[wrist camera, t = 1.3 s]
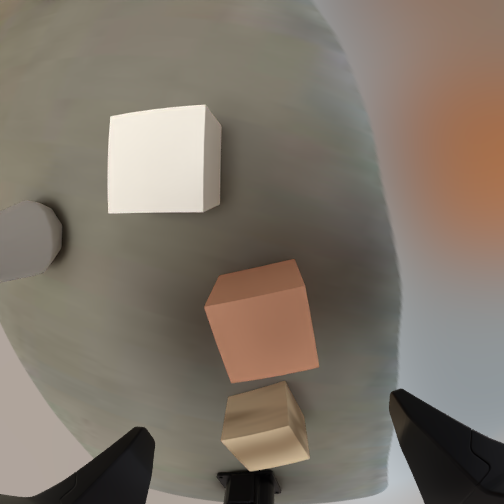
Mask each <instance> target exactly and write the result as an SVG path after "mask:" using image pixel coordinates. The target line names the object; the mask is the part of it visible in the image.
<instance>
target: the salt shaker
mask: <svg viewBox="0 0 504 504" xmlns="http://www.w3.org/2000/svg"><path fill="white" fill-rule="evenodd" d="M61 248H62V224H61V223H60V221H59V219H58V218H57V216H56V215H55V213H54V211H53V210H52V209H51V208H49V207H47V206H45V205H43V204H41V203H39V202H34V201H30V200H24V201H21V202H19V203H17V204H15V205H13V206H10V207H8V208H6V209H4V210H2V211H0V283H1V282H6V281H11V280H16V279H21V278H26V277H31V276H35V275H38V274H41V273H43V272H44V271H45V270H46V269H47V268H48V267H49V265H50V264H51V262H52V261H53V260H54V258H55V257H56V255H57V254H58V252H59V251H60V249H61Z"/></svg>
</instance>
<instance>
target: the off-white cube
mask: <svg viewBox="0 0 504 504" xmlns="http://www.w3.org/2000/svg"><path fill="white" fill-rule="evenodd" d="M221 129H222V126H221V124H220V123H219V122H218V120H217V119H216V118H215V116H214V115H213V114H212V112H211V111H210V110H209V108H208V107H207V106H206V105H193V106H181V107H171V108H162V109H154V110H146V111H140V112H133V113H127V114H121V115H116V116H111V117H110V130H109V147H108V213H150V212H205V211H207V210H209V209H211V208H214V207H216V206H218V205H220V168H221Z"/></svg>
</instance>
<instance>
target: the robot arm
mask: <svg viewBox="0 0 504 504" xmlns="http://www.w3.org/2000/svg"><path fill="white" fill-rule="evenodd" d="M389 412H390V415H391V418H392V421H393V424H394V428H395V431H396V434H397V438H398V441H399V444H400V447H401V449H402V452H403V454H404V456H405V458H406V460H407V463H408V465H409V467H410V469H411V472H412V474H413V476H414V479H415V481H416V483H417V486H418V488H419V491H420V493H421V495H422V498H423V500H424V503H425V504H504V444H503V443H501V442H498V441H496V440H493V439H491V438H488V437H487V436H485V435H483V434H481V433H479V432H477V431H475V430H471V428H469V427H468V426H466V425H464V424H462V423H460V422H459V421H457V420H455V419H453V418H451V417H450V416H448V415H446V414H444V413H443V412H441V411H439V410H438V409H436V408H434V407H432V406H431V405H429V404H427V403H425V402H424V401H422V400H420V399H419V398H417V397H415V396H414V395H412V394H410V393H409V392H407V391H405V390H404V389H398V390H395V391H392V392H391V393H390V401H389ZM154 450H155V441H154V439H153V437H152V436H151V435H150V433H149V432H148V430H147V429H146V428H145V427H134V428H133V429H132V430H130V431H129V432H128V433H127V434H125V435H124V436H123V437H122V438H120V439H119V440H118V441H116V442H115V443H114V444H113V445H111V446H110V447H109V448H107V449H106V450H105V451H104V452H102V453H101V454H100V455H98V456H97V457H96V458H94V459H93V460H92V461H90V462H89V463H88V464H86V465H85V466H84V467H82V468H81V469H79V470H78V471H77V472H75V473H74V474H72V475H71V476H69V477H68V478H66V479H65V480H63V481H62V482H60V483H58V484H57V485H55V486H53V487H51V488H49V489H48V490H46V491H44V492H42V493H40V494H38V495H35V496H33V497H17V496H9V495H2V494H0V504H145V503H146V498H147V494H148V489H149V485H150V481H151V476H152V468H153V459H154ZM217 478H218V480H219V481H220V482H221V484H222V485H223V486H224V487H225V496H224V504H274V494H279V493H281V489H280V487H279V484H278V482H277V480H276V478H275V476H274V474H273V472H272V471H269V470H267V471H256V472H242V473H218V474H217Z"/></svg>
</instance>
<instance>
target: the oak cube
mask: <svg viewBox="0 0 504 504" xmlns="http://www.w3.org/2000/svg"><path fill="white" fill-rule="evenodd" d="M221 442H222V443H223V444H224V445H225V446H226V447H227V448H228V449H229V450H230V451H231V452H232V454H233V455H234V456H235V457H236V458H237V459H238V460H239V461H240V462H241V463H242V464H243V465H244V466H245V467H246V468H247V469H248V470H249V471H256V470H262V469H268V468H273V467H278V466H282V465H287V464H291V463H295V462H299V461H303V460H307V459H310V454H309V447H308V440H307V432H306V425H305V418H304V415H303V413H302V412H301V410H300V408H299V406H298V404H297V402H296V400H295V398H294V397H293V395H292V393H291V391H290V389H289V387H288V385H287V383H286V381H282V382H279V383H276V384H273V385H269V386H266V387H263V388H259V389H256V390H252V391H249V392H245V393H241V394H237V395H233V396H230V397H228V400H227V406H226V412H225V418H224V424H223V430H222V436H221Z"/></svg>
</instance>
